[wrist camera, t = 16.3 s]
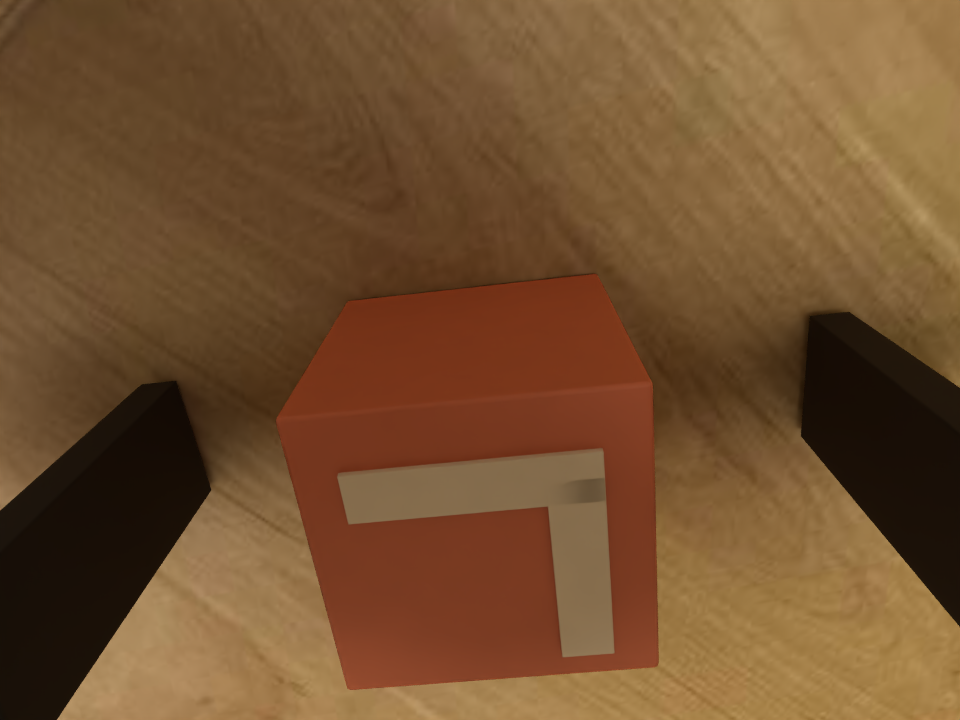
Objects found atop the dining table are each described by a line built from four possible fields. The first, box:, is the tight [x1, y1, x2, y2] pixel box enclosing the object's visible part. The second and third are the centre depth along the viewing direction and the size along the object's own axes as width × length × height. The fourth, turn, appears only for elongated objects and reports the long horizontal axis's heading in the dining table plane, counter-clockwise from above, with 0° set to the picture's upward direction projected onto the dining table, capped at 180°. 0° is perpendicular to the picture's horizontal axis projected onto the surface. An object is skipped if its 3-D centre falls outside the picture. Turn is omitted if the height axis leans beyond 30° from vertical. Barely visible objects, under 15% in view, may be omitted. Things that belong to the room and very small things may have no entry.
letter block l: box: [276, 274, 659, 690], centre depth 12 cm, size 5×5×5 cm
